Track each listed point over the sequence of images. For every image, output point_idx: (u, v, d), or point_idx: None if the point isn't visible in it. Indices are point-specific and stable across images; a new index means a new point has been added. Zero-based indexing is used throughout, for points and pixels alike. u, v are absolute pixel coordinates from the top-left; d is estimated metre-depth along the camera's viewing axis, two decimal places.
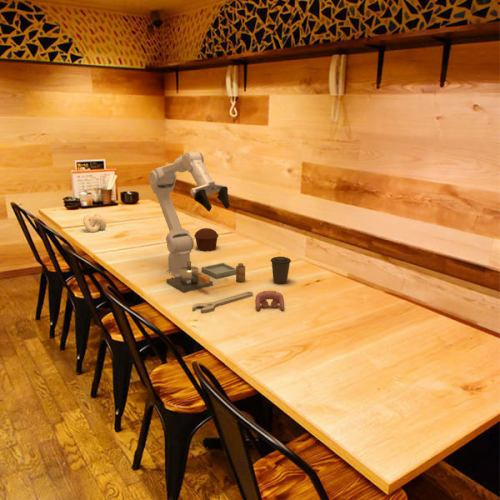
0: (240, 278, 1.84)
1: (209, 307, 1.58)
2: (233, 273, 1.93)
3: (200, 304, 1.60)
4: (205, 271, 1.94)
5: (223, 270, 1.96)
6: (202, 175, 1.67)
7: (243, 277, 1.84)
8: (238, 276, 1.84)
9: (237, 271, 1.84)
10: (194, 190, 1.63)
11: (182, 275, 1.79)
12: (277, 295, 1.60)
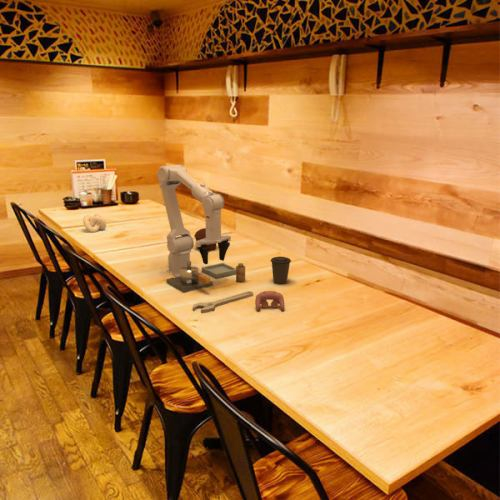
0: (240, 278, 1.84)
1: (209, 307, 1.58)
2: (233, 273, 1.93)
3: (200, 304, 1.61)
4: (205, 271, 1.94)
5: (223, 270, 1.96)
6: (213, 229, 1.73)
7: (243, 277, 1.84)
8: (238, 276, 1.84)
9: (237, 271, 1.84)
10: (199, 244, 1.72)
11: (182, 275, 1.79)
12: (277, 295, 1.60)
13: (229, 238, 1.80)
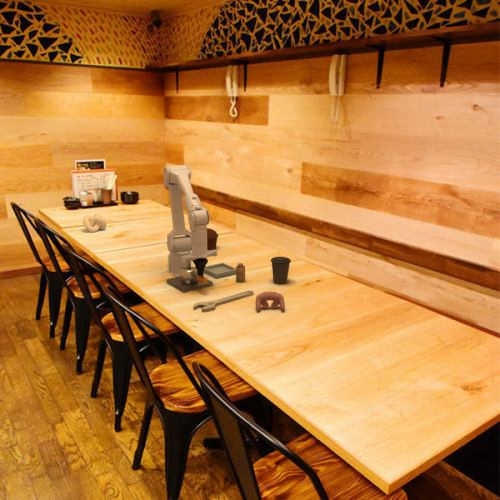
0: (240, 278, 1.84)
1: (210, 306, 1.59)
2: (233, 273, 1.93)
3: (201, 303, 1.61)
4: (205, 271, 1.94)
5: (223, 270, 1.96)
6: (199, 245, 1.70)
7: (243, 277, 1.84)
8: (238, 276, 1.84)
9: (237, 271, 1.84)
10: (185, 260, 1.70)
11: (182, 275, 1.79)
12: (277, 296, 1.59)
13: (216, 253, 1.77)
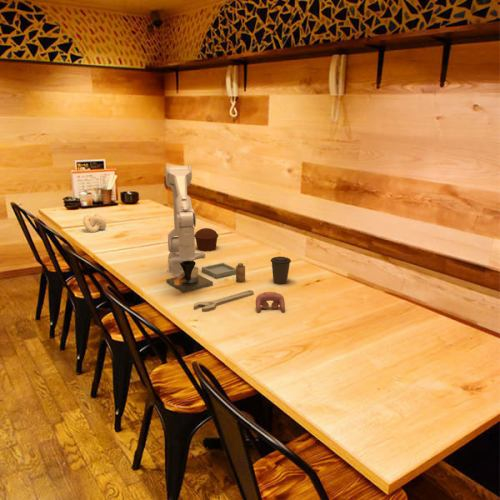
0: (240, 278, 1.84)
1: (210, 306, 1.59)
2: (233, 273, 1.93)
3: (201, 303, 1.62)
4: (205, 271, 1.94)
5: (223, 270, 1.96)
6: (186, 247, 1.67)
7: (243, 277, 1.84)
8: (238, 276, 1.84)
9: (237, 271, 1.84)
10: (172, 263, 1.66)
11: None
12: (278, 296, 1.59)
13: (204, 255, 1.74)
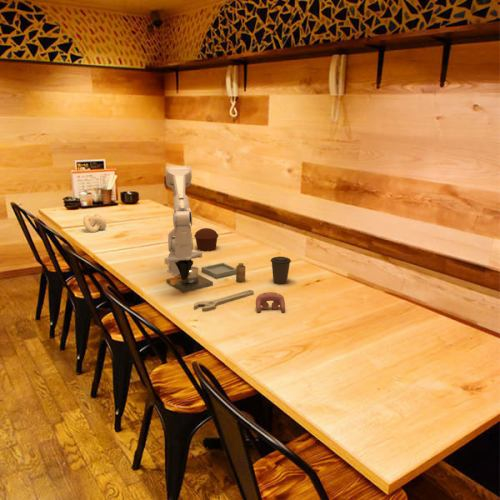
0: (240, 278, 1.84)
1: (210, 305, 1.59)
2: (233, 273, 1.93)
3: (201, 302, 1.62)
4: (205, 271, 1.94)
5: (223, 270, 1.96)
6: (183, 246, 1.66)
7: (243, 277, 1.84)
8: (238, 276, 1.84)
9: (237, 271, 1.84)
10: (168, 262, 1.65)
11: None
12: (278, 297, 1.59)
13: (200, 254, 1.73)
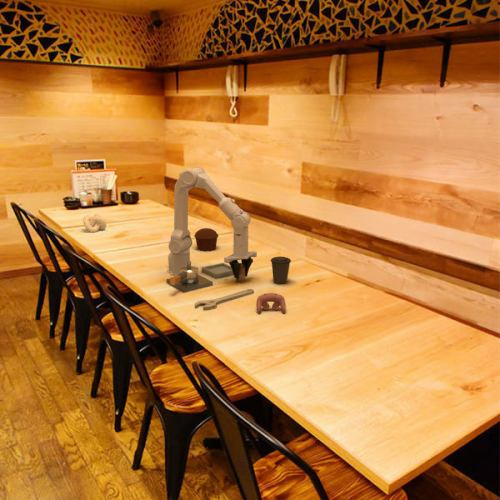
0: (241, 278, 1.84)
1: (211, 304, 1.60)
2: None
3: (202, 301, 1.63)
4: (205, 271, 1.94)
5: (223, 270, 1.96)
6: (241, 246, 1.79)
7: (243, 277, 1.85)
8: None
9: None
10: (228, 261, 1.79)
11: None
12: (278, 297, 1.58)
13: (255, 254, 1.87)
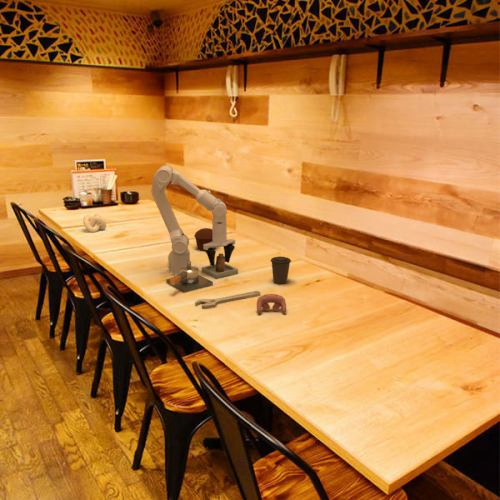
0: (220, 268, 1.93)
1: (211, 303, 1.61)
2: (233, 273, 1.93)
3: (203, 300, 1.64)
4: (205, 271, 1.94)
5: None
6: (220, 234, 1.88)
7: (223, 267, 1.93)
8: (218, 266, 1.93)
9: (217, 261, 1.92)
10: (207, 247, 1.87)
11: None
12: (279, 298, 1.57)
13: (234, 242, 1.95)
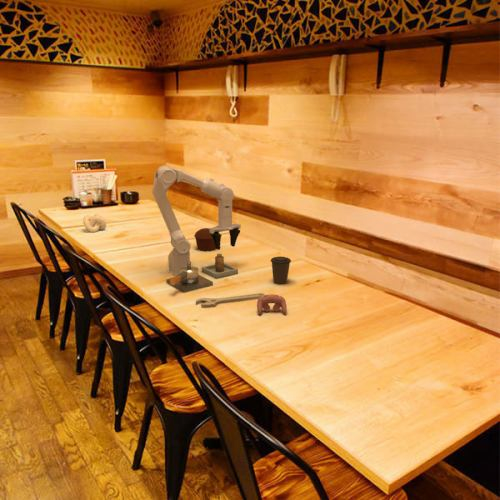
0: (219, 268, 1.93)
1: (210, 303, 1.62)
2: (233, 273, 1.93)
3: (205, 299, 1.65)
4: (205, 271, 1.94)
5: None
6: (225, 218, 1.92)
7: (222, 267, 1.93)
8: (217, 266, 1.93)
9: (216, 261, 1.93)
10: (213, 231, 1.91)
11: None
12: (279, 299, 1.57)
13: (239, 226, 1.99)
